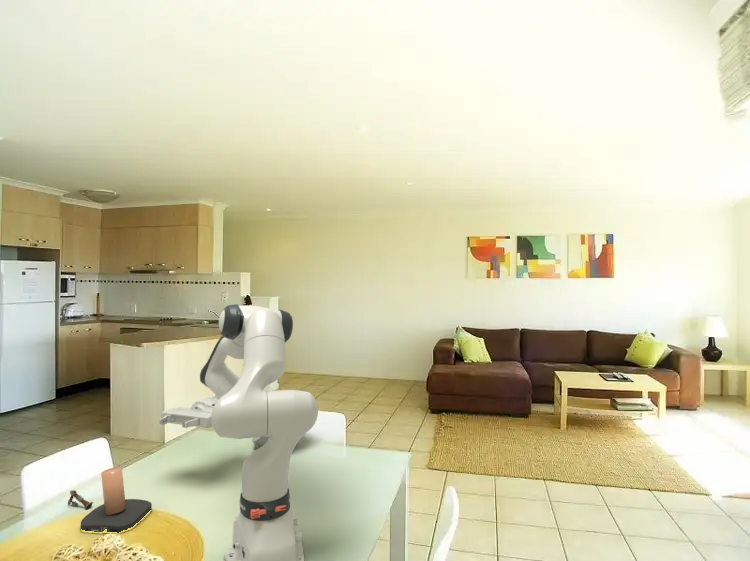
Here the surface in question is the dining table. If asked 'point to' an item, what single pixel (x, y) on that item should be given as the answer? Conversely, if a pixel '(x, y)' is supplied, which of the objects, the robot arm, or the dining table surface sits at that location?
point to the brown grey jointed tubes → (78, 498)
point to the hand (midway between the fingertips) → (172, 423)
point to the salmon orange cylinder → (113, 490)
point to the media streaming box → (116, 517)
